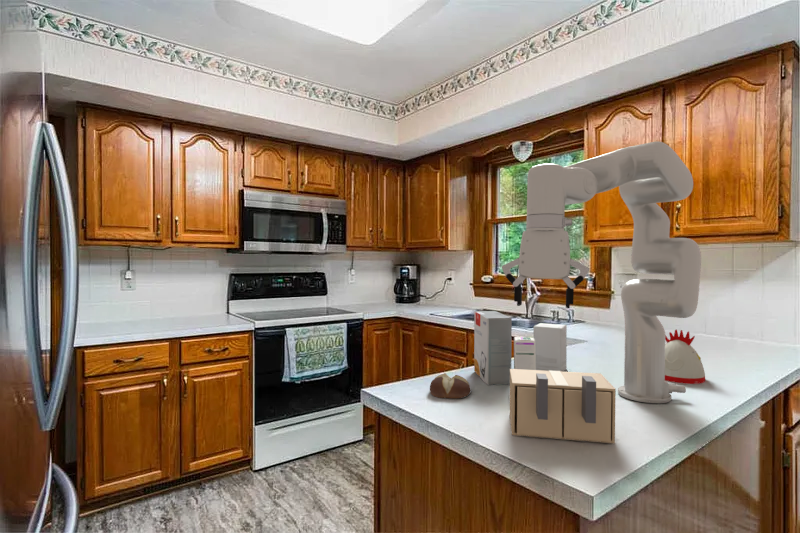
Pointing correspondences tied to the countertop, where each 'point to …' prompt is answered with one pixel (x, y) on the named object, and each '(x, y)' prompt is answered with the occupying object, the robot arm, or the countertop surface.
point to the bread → (450, 387)
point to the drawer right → (587, 412)
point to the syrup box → (524, 353)
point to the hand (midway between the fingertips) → (543, 306)
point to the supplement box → (550, 347)
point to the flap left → (539, 409)
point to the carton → (557, 382)
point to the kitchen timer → (682, 360)
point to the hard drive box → (492, 346)
